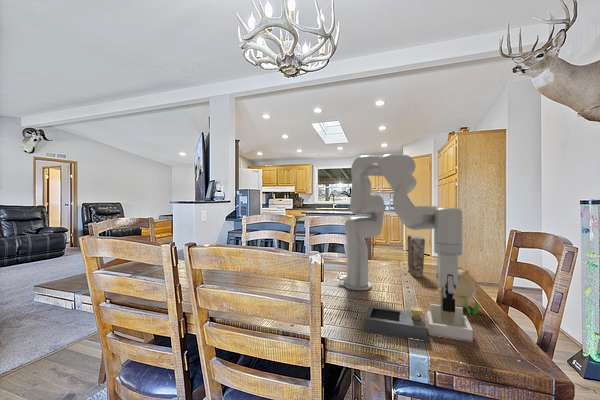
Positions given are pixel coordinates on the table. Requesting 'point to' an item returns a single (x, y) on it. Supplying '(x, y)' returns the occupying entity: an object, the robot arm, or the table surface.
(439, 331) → the white square bin
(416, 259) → the stone block
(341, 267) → the table surface
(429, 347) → the table surface
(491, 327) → the table surface
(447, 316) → the handle
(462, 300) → the cream toy figurine
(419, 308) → the brass key
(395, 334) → the socket block
